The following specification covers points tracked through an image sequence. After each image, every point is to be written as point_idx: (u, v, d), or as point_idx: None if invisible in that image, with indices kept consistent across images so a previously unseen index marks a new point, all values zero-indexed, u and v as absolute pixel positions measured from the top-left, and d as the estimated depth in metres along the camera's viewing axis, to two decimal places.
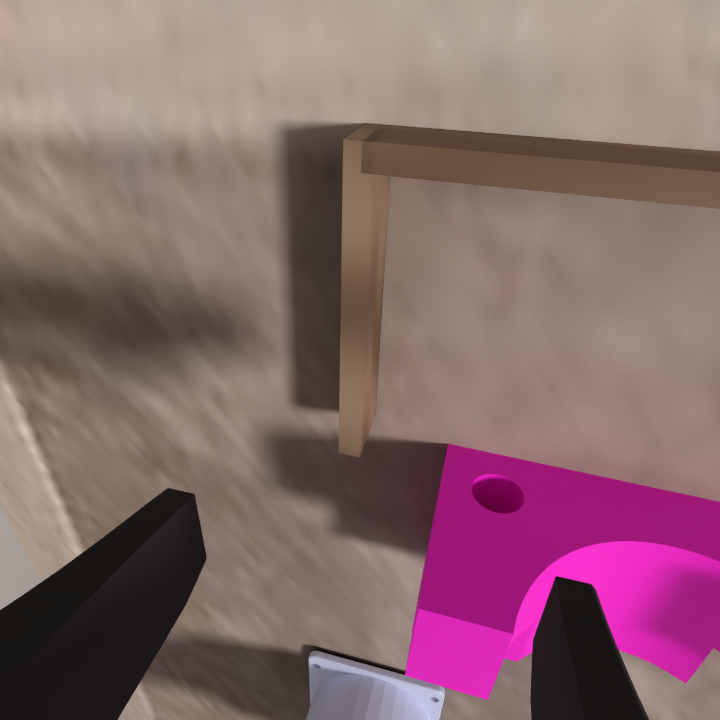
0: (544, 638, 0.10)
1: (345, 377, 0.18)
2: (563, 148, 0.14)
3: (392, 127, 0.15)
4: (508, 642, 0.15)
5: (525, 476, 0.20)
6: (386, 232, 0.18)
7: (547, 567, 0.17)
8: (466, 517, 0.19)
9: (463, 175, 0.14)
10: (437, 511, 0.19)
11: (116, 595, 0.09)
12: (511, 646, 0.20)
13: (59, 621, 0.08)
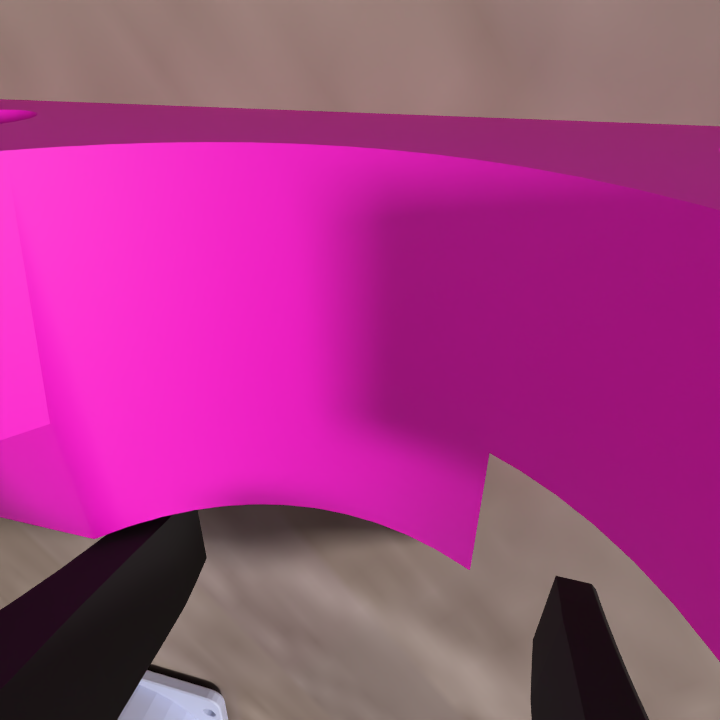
0: (544, 638, 0.10)
1: None
2: None
3: None
4: None
5: (75, 110, 0.09)
6: None
7: None
8: None
9: None
10: None
11: (116, 595, 0.09)
12: (60, 498, 0.09)
13: (59, 621, 0.08)
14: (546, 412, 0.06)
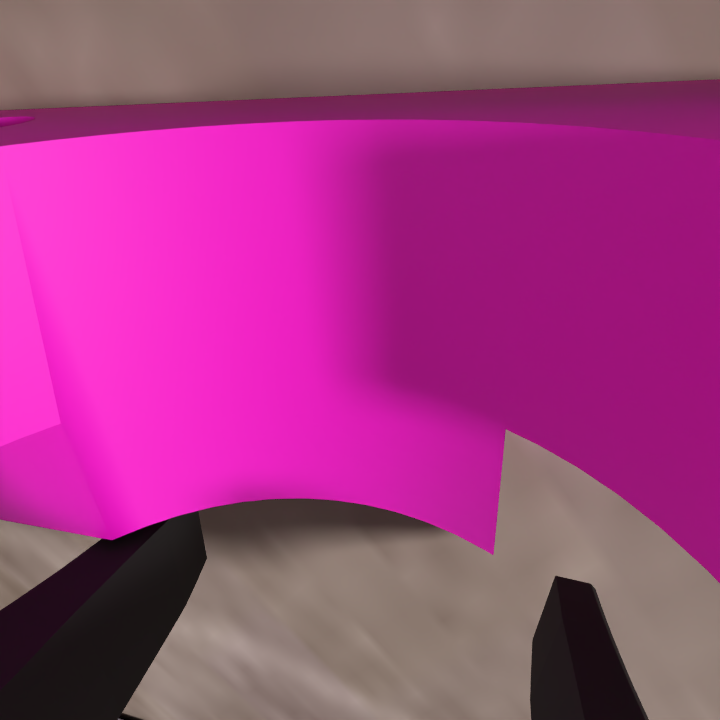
0: (544, 638, 0.10)
1: None
2: None
3: None
4: None
5: (73, 112, 0.09)
6: None
7: None
8: None
9: None
10: None
11: (116, 595, 0.09)
12: (76, 500, 0.09)
13: (59, 621, 0.08)
14: (561, 379, 0.06)
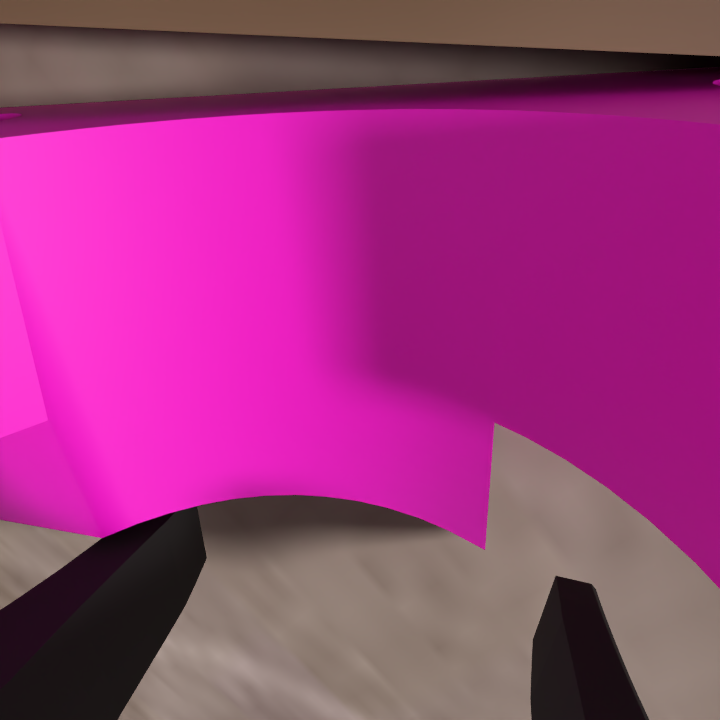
0: (544, 638, 0.10)
1: None
2: None
3: None
4: None
5: (60, 109, 0.09)
6: None
7: None
8: None
9: None
10: None
11: (116, 595, 0.09)
12: (66, 498, 0.09)
13: (59, 621, 0.08)
14: (547, 370, 0.06)
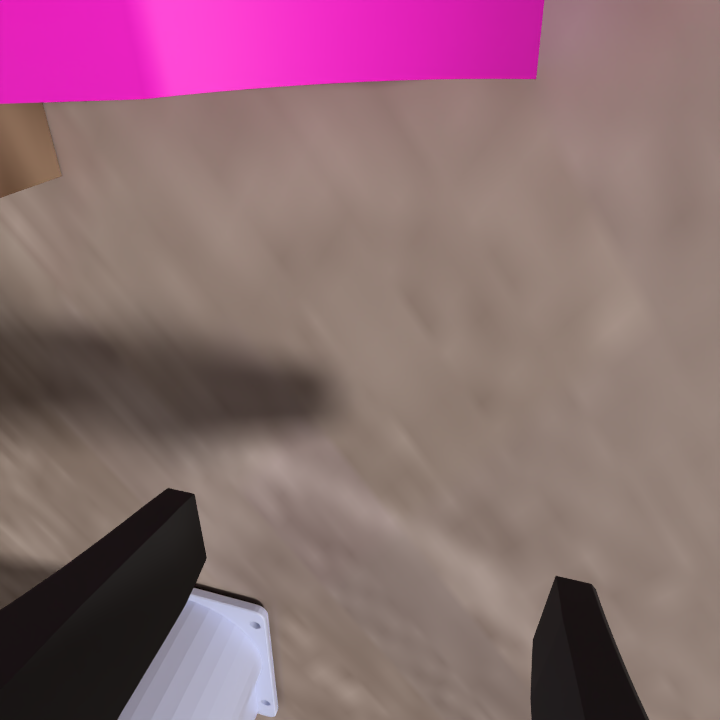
0: (544, 638, 0.10)
1: None
2: None
3: None
4: None
5: None
6: None
7: None
8: None
9: None
10: None
11: (116, 595, 0.09)
12: (108, 39, 0.09)
13: (59, 621, 0.08)
14: None
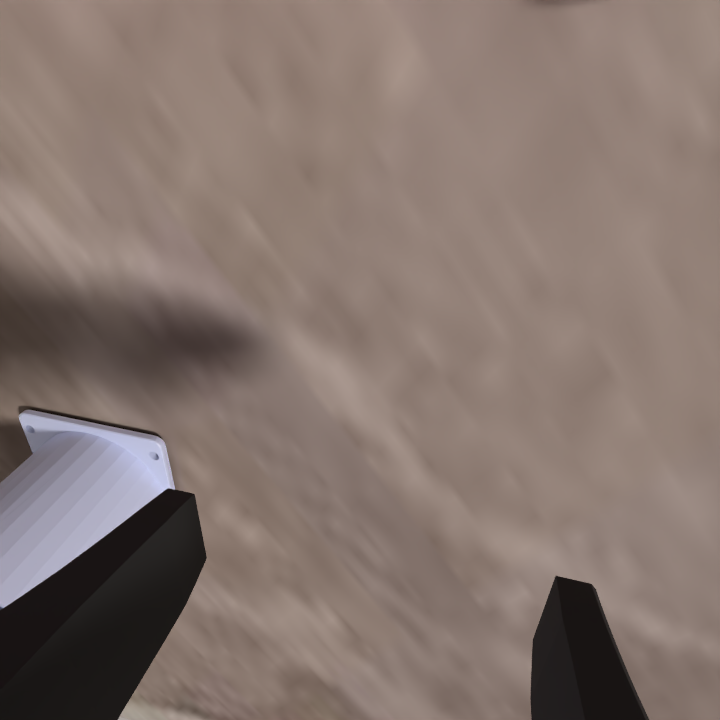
0: (544, 638, 0.10)
1: None
2: None
3: None
4: None
5: None
6: None
7: None
8: None
9: None
10: None
11: (116, 595, 0.09)
12: None
13: (59, 621, 0.08)
14: None
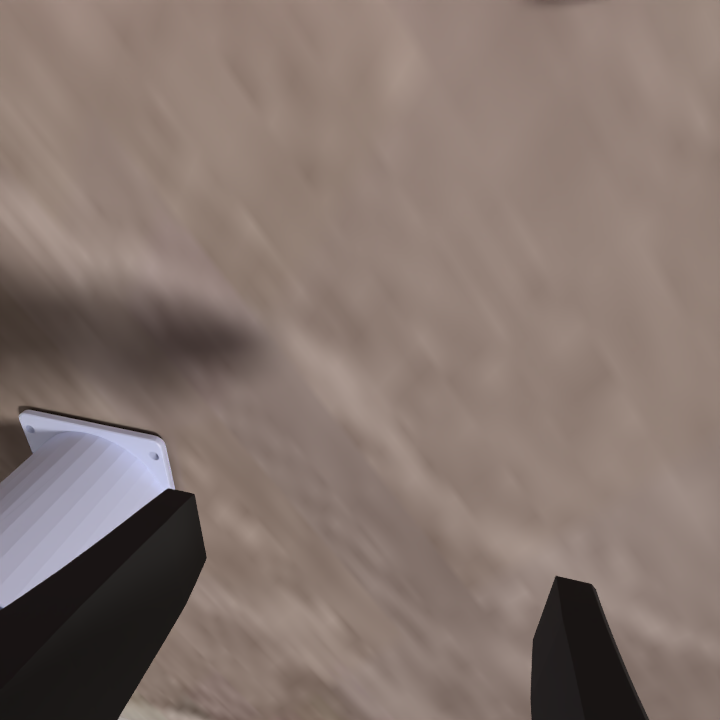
0: (544, 638, 0.10)
1: None
2: None
3: None
4: None
5: None
6: None
7: None
8: None
9: None
10: None
11: (116, 595, 0.09)
12: None
13: (59, 621, 0.08)
14: None
